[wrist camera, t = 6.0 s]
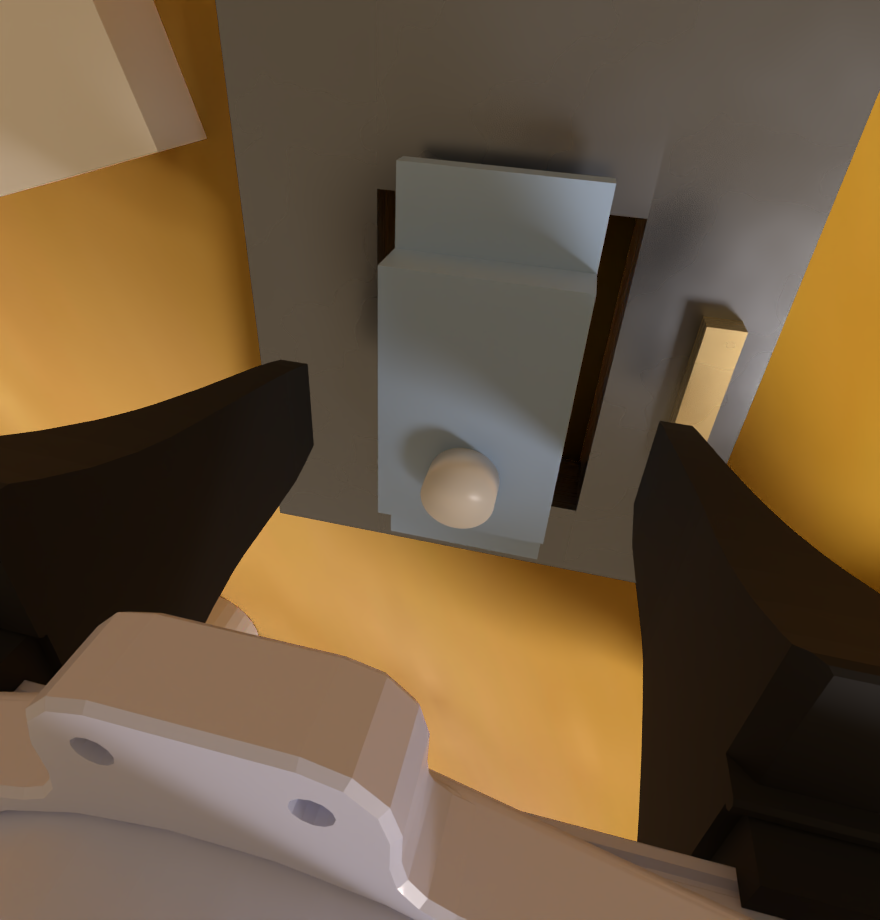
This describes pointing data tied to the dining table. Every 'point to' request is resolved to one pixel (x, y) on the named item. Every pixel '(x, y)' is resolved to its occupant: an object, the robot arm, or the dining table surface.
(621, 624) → the dining table surface
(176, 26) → the dining table surface
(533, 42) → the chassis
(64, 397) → the dining table surface
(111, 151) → the box
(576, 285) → the block
